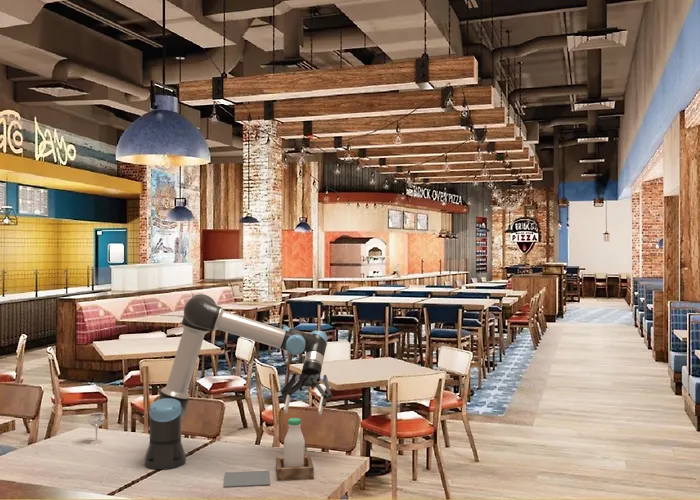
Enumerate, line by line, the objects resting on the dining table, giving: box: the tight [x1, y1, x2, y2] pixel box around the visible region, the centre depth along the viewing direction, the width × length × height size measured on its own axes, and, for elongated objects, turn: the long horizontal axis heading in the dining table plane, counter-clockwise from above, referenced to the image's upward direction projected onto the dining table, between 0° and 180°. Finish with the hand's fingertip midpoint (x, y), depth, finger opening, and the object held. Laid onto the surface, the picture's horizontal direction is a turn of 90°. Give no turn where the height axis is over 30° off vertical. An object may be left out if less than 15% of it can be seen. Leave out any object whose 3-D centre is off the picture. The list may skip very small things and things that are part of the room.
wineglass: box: [87, 411, 106, 445], centre depth 289 cm, size 7×7×12 cm
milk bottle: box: [283, 417, 306, 468], centre depth 251 cm, size 8×8×20 cm
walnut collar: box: [275, 455, 315, 481], centre depth 251 cm, size 13×13×4 cm
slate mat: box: [223, 470, 271, 489], centre depth 245 cm, size 16×14×1 cm
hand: (302, 412), depth 262 cm, fingers open, 13 cm apart
